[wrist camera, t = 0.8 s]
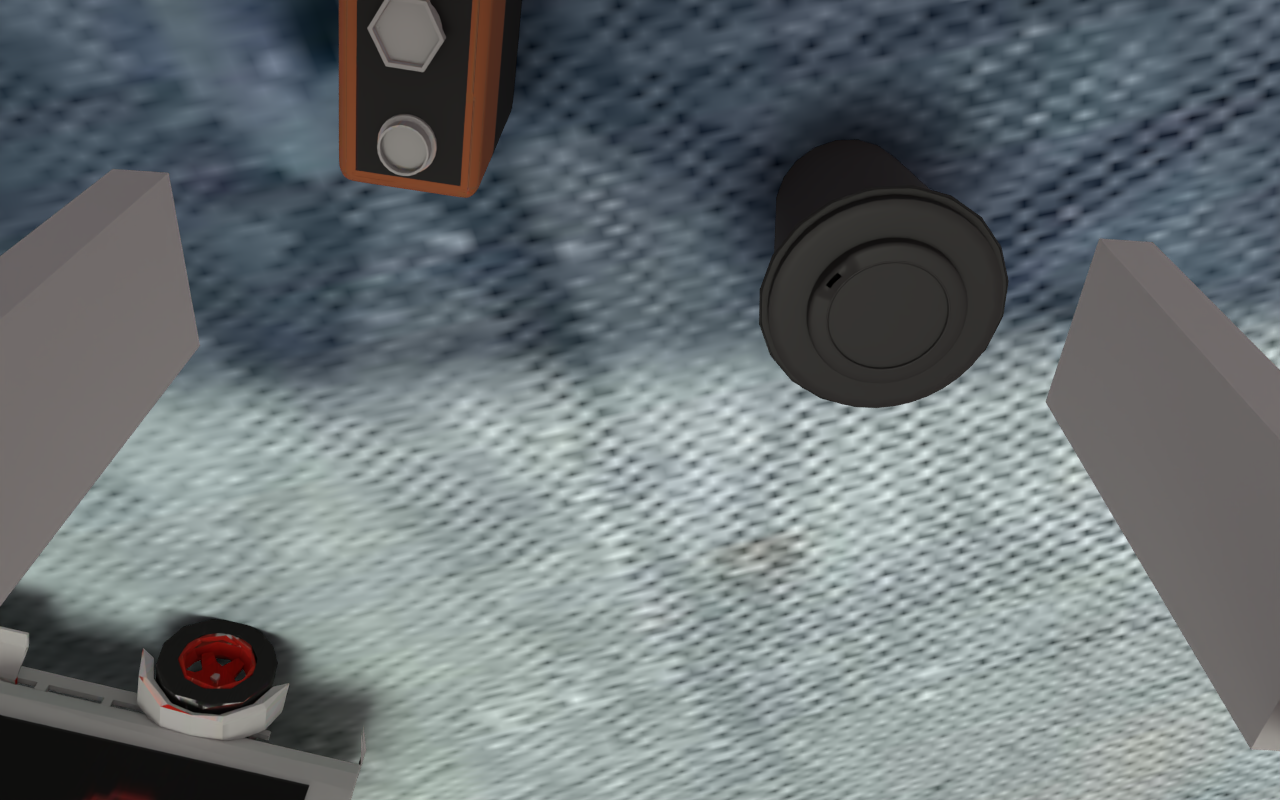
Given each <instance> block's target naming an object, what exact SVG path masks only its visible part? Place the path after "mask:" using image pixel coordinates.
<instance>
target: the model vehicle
mask: <svg viewBox="0 0 1280 800" xmlns="http://www.w3.org/2000/svg"><path fill="white" fill-rule="evenodd" d="M28 648H29V633H27V632H23V631H19V630H14V629H10V628H6V627H2V626H0V800H351V798H352V794H353V791H354V787H355V784H356V781H357V778H358V775H359V772H360V769H361V765H362V762H363V759H364V756H365V752H366V743H365V733H364V726H363V738H362V734H361V758H360V762H359V764H355V763H351V762H346V761H342V760H338V759H333V758H329V757H325V756H320V755H316V754H312V753H308V752H303V751H299V750H295V749H290V748H286V747H282V746H277V745H273V744H269V743H264V742H260V741H256V738H259V739H263V740H267V741H268V740H269V737H270V734H271V731H268V730H265V729H266V728H267V727H268V726H269V725H270V724H271V723H272V722H273V721H274V720H275V719H276V718H277V717H278V716H279V715H280V714H281V712H282V711H283V707H284V703H285V699H286V695H287V691H288V687H289V683H287V684H283V685H278V686H274V687H272V685H273V681H274V677H275V672H276V668H277V664H278V663H277V659H276V655H275V651H274V647H273V646H272V644H271V643H270V642H269V641H268V640H267V639H266V637H265V636H264V635H263V634H262V633H261V632H259V631H258V630H256V629H254V628H253V627H251V626H248V625H244V624H240V623H235V622H231V621H226V620H216V619H211V620H207V621H203V622H199V623H196V624H192V625H188V626H184V627H183V628H182V629H180V630H179V631H178V632H177V633H176V634H174V635H173V636H172V637H171V638H170V639H168V640H167V641H166V642H165V643H164V645H163V647H162V650H161V652H160V655H159V658H158V660H157V663H156V680H154V658H153V657H152V656H151V655H150V654H149V653H148V652H147V651H146V650H145V649H144V648H143V651H142V658H141V665H140V671H139V680H138V693H134V692H130V691H126V690H122V689H117V688H113V687H109V686H105V685H100V684H96V683H92V682H88V681H83V680H79V679H75V678H71V677H66V676H62V675H58V674H54V673H49V672H45V671H41V670H37V669H32V668H28V667H24V666H22V663H23V661H24V658H25V656H26V653H27V650H28ZM216 658H218V659H229V660H231V662H229V663H228V664H226V665H224V666H222V665H220V664H219V663H218V662H217V661H216ZM197 661H201V664H202V670H200V671H197V672H192V671H189V670H186V669H188V668H189V667H190V666H191V665H192V664H194V663H195V662H197ZM242 670H244V672H245V674H246V676H245V677H244V679H243V680H240V681H237V682H236V681H235V677H236V676H237V675H238V674H239V673H240V672H241V671H242ZM17 683H21V684H25V685H30V686H34V688H32V687H28V686H24V685H19V684H17ZM48 690H51V691H55V692H60V693H64V694H68V695H73V696H77V697H81V698H86V699H90V700H94V701H98V702H102V703H97V702H93V701H89V700H84V699H80V698H76V697H71V696H67V695H63V694H58V693H54V692H50V691H48ZM112 705H116V706H120V707H124V708H129V709H133V710H137V711H142V712H144V713H141V712H136V711H132V710H128V709H123V708H119V707H115V706H112ZM248 736H250V737H249V739H247V738H245V737H248Z"/></svg>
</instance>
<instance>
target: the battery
mask: <svg viewBox="0 0 1280 800" xmlns="http://www.w3.org/2000/svg"><path fill="white" fill-rule="evenodd" d="M521 4H522V0H339V163H340V169H341V171H342V173H343V175H344V176H345V177H346V178H348V179H350V180H353V181H358V182H364V183H371V184H377V185H384V186H391V187H397V188H404V189H410V190H417V191H424V192H430V193H437V194H443V195H450V196H457V197H470V196H472V195H473V194H474V193H475V192H476V191H477V189H478V187H479V185H480V183H481V180H482V178H483V176H484V173H485V171H486V169H487V166H488V164H489V162H490V159H491V157H492V155H493V152H494V150H495V148H496V145H497V143H498V141H499V138H500V136H501V133H502V131H503V129H504V126H505V124H506V122H507V119H508V117H509V115H510V112H511V109H512V103H513V94H514V83H515V72H516V60H517V49H518V38H519V27H520V15H521Z"/></svg>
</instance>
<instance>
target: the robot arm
mask: <svg viewBox="0 0 1280 800" xmlns="http://www.w3.org/2000/svg"><path fill="white" fill-rule="evenodd" d="M199 346H200V344H199V338H198V333H197V327H196V322H195V316H194V311H193V305H192V300H191V294H190V289H189V283H188V278H187V272H186V267H185V261H184V255H183V250H182V244H181V239H180V233H179V228H178V222H177V217H176V211H175V206H174V200H173V195H172V189H171V184H170V178H169V173H163V172H149V171H135V170H120V169H112V170H111V171H110V172H108V173H107V174H106V175H105V176H103V177H102V178H101V179H99V180H98V181H97V182H96V183H94V184H93V185H92V186H90V187H89V188H88V189H87V190H85V191H84V192H83V193H81V194H80V195H79V196H77V197H76V198H75V199H74V200H72V201H71V202H70V203H68V204H67V205H66V206H65V207H63V208H62V209H61V210H59V211H58V212H57V213H56V214H54V215H53V216H52V217H50V218H49V219H48V220H46V221H45V222H44V223H43V224H41V225H40V226H39V227H37V228H36V229H35V230H34V231H32V232H31V233H30V234H28V235H27V236H26V237H25V238H23V239H22V240H21V241H19V242H18V243H17V244H16V245H14V246H13V247H12V248H10V249H9V250H8V251H6V252H5V253H4V254H3V255H1V256H0V606H1V605H2V603H3V602H4V601H5V599H6V598H7V597H8V595H9V594H10V593H11V592H12V590H13V589H14V588H15V586H16V585H17V584H18V582H19V581H20V580H21V578H22V577H23V576H24V575H25V573H26V572H27V571H28V569H29V568H30V567H31V565H32V564H33V563H34V562H35V560H36V559H37V558H38V556H39V555H40V554H41V552H42V551H43V550H44V548H45V547H46V546H47V545H48V543H49V542H50V541H51V539H52V538H53V537H54V535H55V534H56V533H57V531H58V530H59V529H60V528H61V526H62V525H63V524H64V522H65V521H66V520H67V518H68V517H69V516H70V514H71V513H72V512H73V511H74V509H75V508H76V507H77V505H78V504H79V503H80V501H81V500H82V499H83V497H84V496H85V495H86V494H87V492H88V491H89V490H90V488H91V487H92V486H93V484H94V483H95V482H96V481H97V479H98V478H99V477H100V475H101V474H102V473H103V471H104V470H105V469H106V467H107V466H108V465H109V464H110V462H111V461H112V460H113V458H114V457H115V456H116V454H117V453H118V452H119V450H120V449H121V448H122V447H123V445H124V444H125V443H126V441H127V440H128V439H129V437H130V436H131V435H132V433H133V432H134V431H135V430H136V428H137V427H138V426H139V424H140V423H141V422H142V420H143V419H144V418H145V416H146V415H147V414H148V413H149V411H150V410H151V409H152V407H153V406H154V405H155V403H156V402H157V401H158V400H159V398H160V397H161V396H162V394H163V393H164V392H165V390H166V389H167V388H168V386H169V385H170V384H171V383H172V381H173V380H174V379H175V377H176V376H177V375H178V373H179V372H180V371H181V369H182V368H183V367H184V366H185V364H186V363H187V362H188V360H189V359H190V358H191V356H192V355H193V354H194V352H195V351H196V350H197V349H198V347H199ZM1046 403H1047V405H1048V407H1049V408H1050V410H1051V412H1052V413H1053V415H1054V417H1055V419H1056V420H1057V422H1058V424H1059V425H1060V427H1061V429H1062V430H1063V432H1064V434H1065V435H1066V437H1067V439H1068V441H1069V442H1070V444H1071V446H1072V447H1073V449H1074V451H1075V452H1076V454H1077V456H1078V457H1079V459H1080V461H1081V463H1082V464H1083V466H1084V468H1085V469H1086V471H1087V473H1088V474H1089V476H1090V478H1091V479H1092V481H1093V483H1094V485H1095V486H1096V488H1097V490H1098V491H1099V493H1100V495H1101V496H1102V498H1103V500H1104V501H1105V503H1106V505H1107V507H1108V508H1109V510H1110V512H1111V513H1112V515H1113V517H1114V518H1115V520H1116V522H1117V523H1118V525H1119V527H1120V529H1121V530H1122V532H1123V534H1124V535H1125V537H1126V539H1127V540H1128V542H1129V544H1130V545H1131V547H1132V549H1133V551H1134V552H1135V554H1136V556H1137V557H1138V559H1139V561H1140V562H1141V564H1142V566H1143V567H1144V569H1145V571H1146V573H1147V574H1148V576H1149V578H1150V579H1151V581H1152V583H1153V584H1154V586H1155V588H1156V589H1157V591H1158V593H1159V595H1160V596H1161V598H1162V600H1163V601H1164V603H1165V605H1166V606H1167V608H1168V610H1169V611H1170V613H1171V615H1172V617H1173V618H1174V620H1175V622H1176V623H1177V625H1178V627H1179V628H1180V630H1181V632H1182V634H1183V635H1184V637H1185V639H1186V640H1187V642H1188V644H1189V645H1190V647H1191V649H1192V650H1193V652H1194V654H1195V656H1196V657H1197V659H1198V661H1199V662H1200V664H1201V666H1202V667H1203V669H1204V671H1205V672H1206V674H1207V676H1208V678H1209V679H1210V681H1211V683H1212V684H1213V686H1214V688H1215V689H1216V691H1217V693H1218V694H1219V696H1220V698H1221V700H1222V701H1223V703H1224V705H1225V706H1226V708H1227V710H1228V711H1229V713H1230V715H1231V716H1232V718H1233V720H1234V722H1235V723H1236V725H1237V727H1238V728H1239V730H1240V732H1241V733H1242V735H1243V737H1244V738H1245V740H1246V742H1247V744H1248V745H1249V747H1250V749H1256V750H1273V751H1280V370H1279V369H1278V368H1277V367H1276V366H1275V365H1274V364H1273V363H1272V362H1271V361H1270V360H1269V359H1268V358H1267V357H1266V356H1265V355H1264V354H1263V353H1262V352H1261V351H1260V350H1259V349H1258V348H1257V347H1256V346H1255V345H1254V344H1253V343H1252V342H1251V341H1250V340H1249V339H1248V338H1247V337H1246V336H1245V335H1244V334H1243V333H1242V332H1241V331H1240V330H1239V329H1238V328H1237V327H1236V326H1235V325H1234V324H1233V323H1232V322H1231V321H1230V320H1229V319H1228V318H1227V317H1226V316H1225V315H1224V314H1223V313H1222V312H1221V311H1220V310H1219V309H1218V308H1217V307H1216V306H1215V305H1214V304H1213V303H1212V302H1211V301H1210V300H1209V299H1208V298H1207V297H1206V296H1205V295H1204V294H1203V292H1202V291H1201V290H1200V289H1199V288H1198V287H1197V286H1196V285H1195V284H1194V283H1193V282H1192V281H1191V280H1190V279H1189V278H1188V277H1187V276H1186V275H1185V274H1184V273H1183V272H1182V271H1181V270H1180V269H1179V268H1178V267H1177V266H1176V265H1175V264H1174V263H1173V262H1172V261H1171V260H1170V259H1169V258H1168V257H1167V256H1166V255H1165V254H1164V253H1163V252H1162V251H1161V250H1160V249H1159V248H1158V247H1157V246H1156V245H1155V244H1154V243H1153V242H1141V241H1127V240H1113V239H1099V241H1098V244H1097V247H1096V250H1095V253H1094V256H1093V260H1092V263H1091V266H1090V269H1089V272H1088V275H1087V278H1086V281H1085V284H1084V287H1083V290H1082V293H1081V296H1080V299H1079V302H1078V305H1077V308H1076V311H1075V314H1074V317H1073V320H1072V323H1071V326H1070V329H1069V333H1068V336H1067V339H1066V342H1065V345H1064V348H1063V351H1062V354H1061V357H1060V360H1059V363H1058V366H1057V369H1056V372H1055V375H1054V378H1053V381H1052V384H1051V387H1050V390H1049V393H1048V396H1047V399H1046Z"/></svg>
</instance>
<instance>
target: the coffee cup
mask: <svg viewBox="0 0 1280 800" xmlns="http://www.w3.org/2000/svg"><path fill="white" fill-rule="evenodd" d="M1007 288H1008V276H1007V271H1006V267H1005V262H1004V257H1003V252H1002V248H1001V246H1000V244H999V243H998V241H997V240H996V238H995V237H994V235H993V234H992V232H991V231H990V229H989V228H988V226H987V225H986V223H985V222H984V220H983V219H982V217H981V216H979V215H978V214H976V213H975V212H973V211H972V210H971V209H969V208H968V207H966V206H965V205H964V204H962V203H961V202H959V201H958V200H956V199H955V198H954V197H952V196H950V195H947V194H943V193H940V192H936V191H932V190H930V189H929V188H928V187H927V186H926V185H924V184H923V183H922V182H921V181H920V180H919V179H918V178H917V177H916V176H914V175H913V174H912V173H911V172H910V171H909V170H908V169H907V168H906V167H905V166H903V165H902V164H901V163H900V162H899V161H898V160H897V159H896V158H895V157H893V156H892V155H890V154H889V153H888V152H886V151H885V150H883V149H882V148H881V147H879V146H878V145H874V144H871V143H867V142H864V141H860V140H835V141H833V142H830V143H827V144H824V145H821V146H818V147H815V148H814V149H812V150H811V151H809V152H808V153H807V154H805V155H804V156H803V157H801V158H800V159H798V160H797V161H796V162H795V164H794V165H793V166H792V167H791V169H790V170H789V171H788V173H787V174H786V175H785V177H784V178H783V181H782V184H781V186H780V189H779V192H778V195H777V198H776V222H775V246H774V254H773V255H772V258H771V261H770V263H769V266H768V269H767V272H766V274H765V277H764V280H763V282H762V285H761V288H760V310H759V325H760V327H761V330H762V333H763V336H764V339H765V342H766V344H767V347H768V350H769V353H770V355H771V357H772V358H773V359H774V360H775V361H776V363H777V364H778V365H779V366H780V367H781V369H782V370H783V371H784V372H785V373H786V375H787V376H788V377H789V378H790V379H791V381H793V382H795V383H796V384H798V385H800V386H801V387H802V388H804V389H806V390H808V391H809V392H811V393H813V394H814V395H816V396H818V397H819V398H821V399H825V400H829V401H833V402H837V403H840V404H844V405H849V406H853V407H868V408H880V407H890V406H897V405H901V404H905V403H910V402H913V401H916V400H919V399H921V398H924V397H927V396H929V395H931V394H933V393H935V392H937V391H939V390H941V389H943V388H944V387H946V386H947V385H949V384H950V383H952V382H953V381H954V380H956V379H957V378H959V377H960V376H961V375H962V374H963V373H964V372H965V371H966V370H968V369H969V368H970V367H971V366H972V365H973V363H974V362H975V361H976V360H977V359H978V358H979V356H980V355H981V354H982V353H983V352H984V351H985V350H986V348H987V346H988V344H989V342H990V341H991V339H992V337H993V335H994V333H995V331H996V329H997V327H998V325H999V323H1000V321H1001V319H1002V317H1003V314H1004V307H1005V301H1006V294H1007Z"/></svg>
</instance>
